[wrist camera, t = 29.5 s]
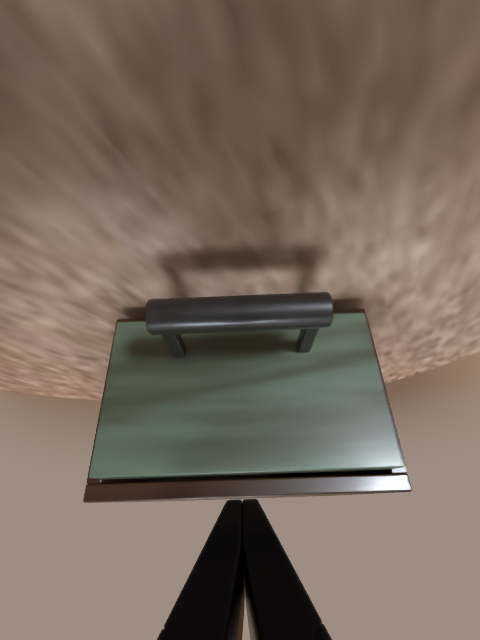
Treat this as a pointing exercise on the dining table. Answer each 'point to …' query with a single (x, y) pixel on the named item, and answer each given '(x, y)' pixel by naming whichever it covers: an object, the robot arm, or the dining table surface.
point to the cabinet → (249, 487)
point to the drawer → (243, 392)
